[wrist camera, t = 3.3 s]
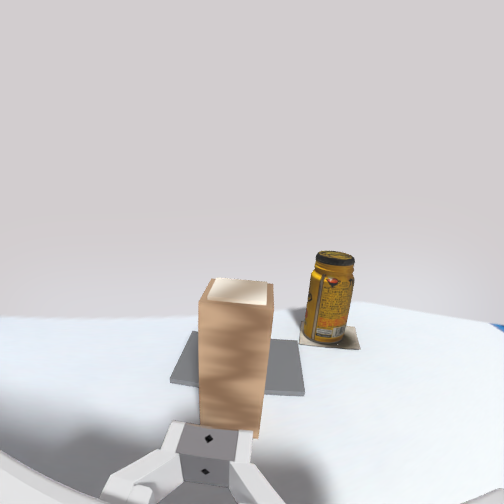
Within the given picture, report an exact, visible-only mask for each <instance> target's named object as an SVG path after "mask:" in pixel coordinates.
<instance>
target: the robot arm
mask: <svg viewBox="0 0 504 504" xmlns="http://www.w3.org/2000/svg"><path fill="white" fill-rule="evenodd" d="M252 440H253V431H249V430H239V429H228V428H219V427H209V426H203V425H198V424H192V423H187V422H181V421H176V420H173V421H172V422H171V424H170V426H169V429H168V431H167V434H166V436H165V439H164V441H163V444H162V446H161V449H160V450H159V449H155V450H154V451H152V452H150V453H149V454H147V455H145V456H144V457H142V458H140V459H138V460H137V461H135V462H133V463H131V464H130V465H128V466H126V467H124V468H122V469H121V470H119V471H117V472H115V473H113V474H111V475H110V477H109V479H108V481H107V483H106V485H105V486H104V488H103V490H102V492H101V494H100V496H99V498H98V499H97V498H95V497H92V496H90V495H87V494H85V493H82V492H80V491H77V490H75V489H73V488H70V487H68V486H66V485H64V484H62V483H60V482H57V481H55V480H53V479H51V478H49V477H47V476H45V475H43V474H41V473H39V472H37V471H36V470H34V469H32V468H30V467H28V466H26V465H25V464H23V463H21V462H20V461H18V460H16V459H14V458H13V457H11V456H10V455H8V454H6V453H5V452H3V451H2V450H0V504H157V503H158V502H160V501H161V500H162V499H163V498H165V497H166V496H167V495H168V494H170V493H171V492H172V491H173V490H174V489H176V488H177V487H178V486H179V485H180V484H182V483H183V481H188V482H194V483H201V484H208V485H214V486H221V487H228V488H229V490H230V492H231V493H232V495H233V497H234V499H235V500H236V502H237V504H286V503H285V502H284V501H283V500H282V498H281V497H280V496H279V495H278V494H277V492H276V491H275V490H274V488H273V487H272V486H271V485H270V483H269V482H268V481H267V480H266V478H265V477H264V476H263V474H262V473H261V472H260V470H259V469H258V468H257V466H256V465H255V464H253V463H250V462H251V451H252ZM461 504H504V489H503V488H499V489H495V490H493V491H491V492H488V493H486V494H484V495H481V496H479V497H476V498H474V499H471V500H469V501H466V502H463V503H461Z"/></svg>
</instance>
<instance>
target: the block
mask: <svg viewBox="0 0 504 504" xmlns="http://www.w3.org/2000/svg"><path fill="white" fill-rule="evenodd" d="M198 312H199V313H198V352H199V403H200V425H203V426H209V427H219V428H228V429H239V430H249V431H253V438H256V439H258V436H259V429H260V421H261V413H262V406H263V398H264V390H265V382H266V374H267V365H268V357H269V348H270V340H271V331H272V322H273V312H274V297H273V284H268V283H267V282H262V281H261V282H260V281H250V280H238V279H227V278H216V279H211V281H210V282H209V284H208V286H207V288H206V290H205V291H204V293H203V295H202V297H201V299H200V300H199V311H198Z"/></svg>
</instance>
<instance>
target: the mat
mask: <svg viewBox="0 0 504 504" xmlns="http://www.w3.org/2000/svg"><path fill="white" fill-rule="evenodd" d="M170 383H175V384H181V385H187V386H194V387H199V352H198V332H196V331H192V333H191V335H190V337H189V339H188V341H187V344H186V346H185V348H184V350H183V352H182V354H181V356H180V358H179V360H178V362H177V364H176V366H175V369H174V371H173V373H172V375H171V377H170ZM264 394H270V395H287V396H304V394H305V389H304V382H303V375H302V368H301V362H300V355H299V349H298V342H297V341H295V340H280V339H271V340H270V348H269V357H268V365H267V374H266V382H265V390H264Z"/></svg>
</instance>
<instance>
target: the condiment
mask: <svg viewBox="0 0 504 504" xmlns="http://www.w3.org/2000/svg"><path fill="white" fill-rule="evenodd" d="M354 263H355V260H354V257H352V256H351V255H349V254H346V253H342V252H336V251H321V252H318V254H317V255H316V263H315V269H314V270H313V272H312V273H311V279H310V287H309V294H308V302H307V308H306V314H305V321H304V322H303V321H302V322H301V332H300V342H299V344H304V345H311V346H319V347H338V348H345V349H360V346H359V342H358V338H357V334H356V330H355V327H351V326H346V323H347V318H348V313H349V308H350V303H351V297H352V291H353V286H354V277H353V274H352V273H353V271H354V268H353V266H354ZM337 344H338V345H337Z"/></svg>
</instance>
